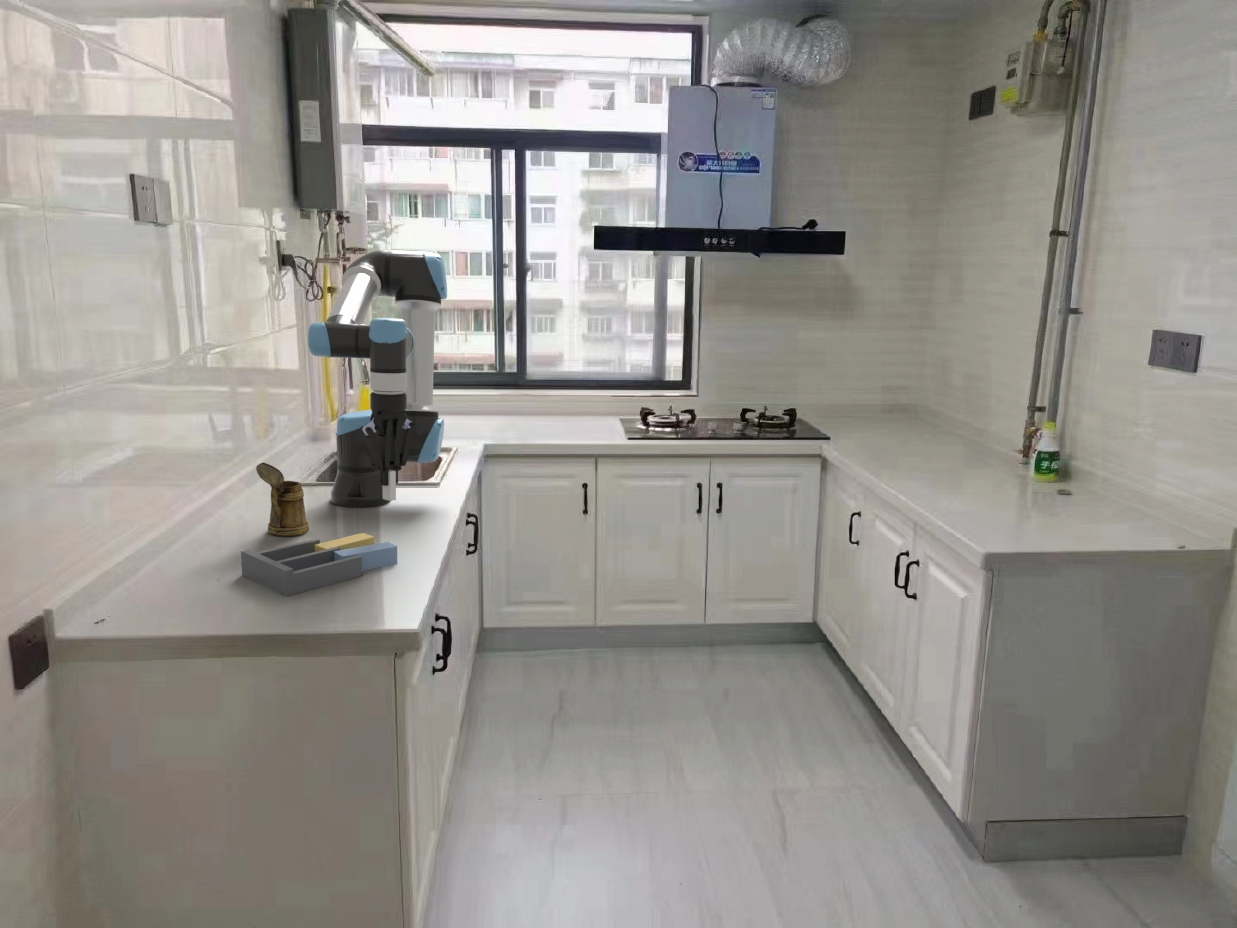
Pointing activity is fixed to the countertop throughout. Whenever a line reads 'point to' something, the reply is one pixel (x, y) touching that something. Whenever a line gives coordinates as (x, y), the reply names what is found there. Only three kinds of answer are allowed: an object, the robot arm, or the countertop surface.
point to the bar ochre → (347, 542)
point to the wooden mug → (284, 503)
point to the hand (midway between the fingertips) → (389, 499)
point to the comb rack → (298, 567)
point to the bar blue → (371, 555)
